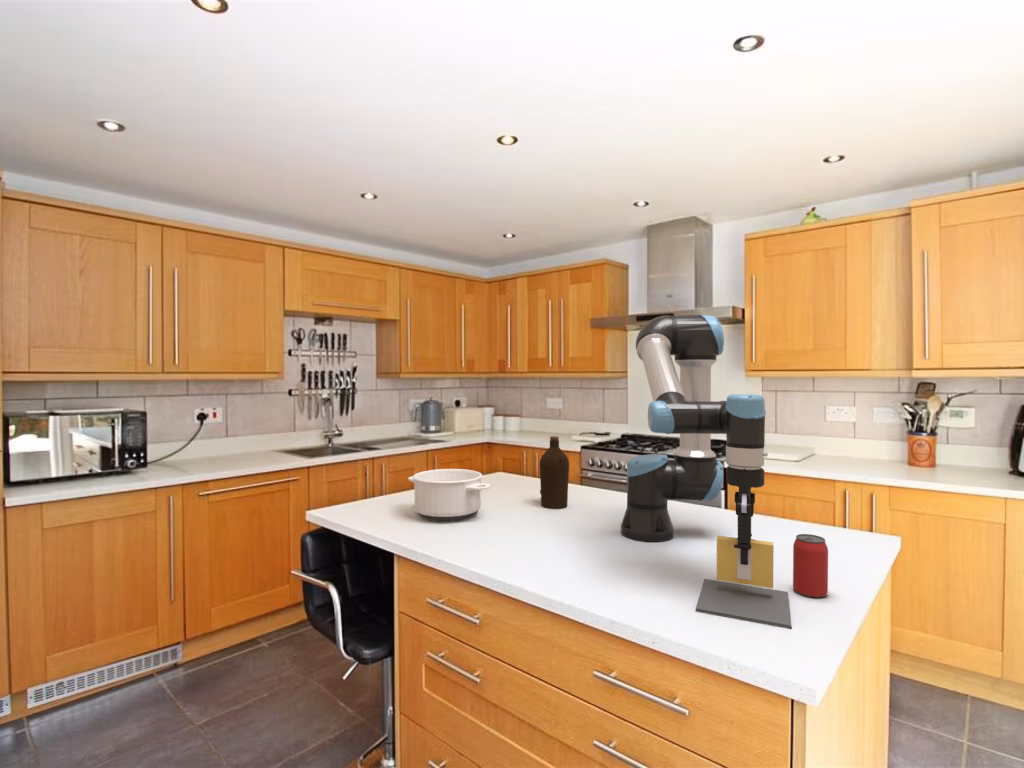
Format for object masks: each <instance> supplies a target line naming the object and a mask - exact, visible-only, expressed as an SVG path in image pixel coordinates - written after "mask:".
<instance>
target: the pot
mask: <svg viewBox="0 0 1024 768" xmlns="http://www.w3.org/2000/svg"><path fill="white" fill-rule="evenodd" d="M482 478H483V473H481V472H480V471H476V470H472V469H466V468H465V469H464V468H439V469H430V470H425V471H420V472H417V473H415V474H414V475H412V476H409V477H408V478H407V480H408V481H410V482H412V483H413V484H414V510H415V512H416V514H417V515H418V516H420V517H421V518H422V519H425V520H429V521H431V522H432V521H433V522H444V523H445V522H458V521H464V520H467V519H469V518H472V517H473V516H474V517H475V515H477V514H478V513H479V510H480V509H481V505H482V503H481V502H482V496H481V495H482V491H484V490H488V489H491V484H489V483H486V482H485V483H484V482H481V481H482Z"/></svg>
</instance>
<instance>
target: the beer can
mask: <svg viewBox="0 0 1024 768" xmlns="http://www.w3.org/2000/svg"><path fill="white" fill-rule="evenodd" d="M792 553H793V555H792V561H793V562H792V587H793V590H794V591H795V592H796V593H797V594H800V595H802V596H805V597H808V598H814V599H815V598H818V599H819V598H824V597H826V596H827V595H828V593H829V590H828V587H829V549H828V545H827V542H826V539H825V538H824V537H822V536H819V535H817V534H811V533H809V534H808V533H799V534H796V536H795V540H794V542H793V549H792Z"/></svg>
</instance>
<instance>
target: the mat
mask: <svg viewBox="0 0 1024 768" xmlns="http://www.w3.org/2000/svg"><path fill="white" fill-rule="evenodd" d="M695 612H698V613H705V614H710V615H714V616H720V617H724V618H729V619H737V620H741V621H748V622H754V623H759V624H764V625H769V626H774V627H780V628H785V629H791V630H793V629H792V618H791V609H790V599H789V591H785V590H779V589H774V588H773V589H772V588H766V587H759V586H753V585H746V584H740V583H733V582H727V581H721V580H717V579H716V580H715V579H710V578H709V579H708V578H704V579H703V582H702V585H701V589H700V592H699V595H698V599H697V603H696V605H695Z"/></svg>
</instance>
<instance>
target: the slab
mask: <svg viewBox="0 0 1024 768" xmlns="http://www.w3.org/2000/svg"><path fill="white" fill-rule="evenodd" d="M737 543H738V537H732V536H725V535H717V537H716V581H722V582H729V583H735V584H742V585H748V586H754V587H761V588H767V589H773V590H774V542H773V541H767V540H756V539H754V540H751V580H747V579H740V578H737V548H734V544H736V545H737Z"/></svg>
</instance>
